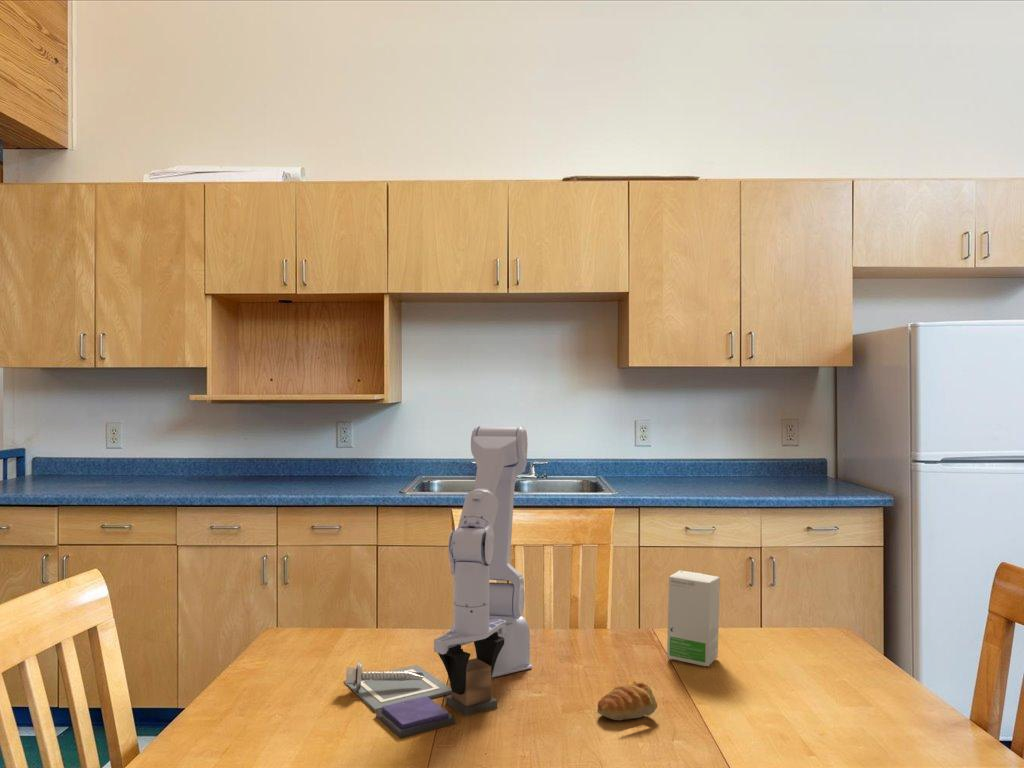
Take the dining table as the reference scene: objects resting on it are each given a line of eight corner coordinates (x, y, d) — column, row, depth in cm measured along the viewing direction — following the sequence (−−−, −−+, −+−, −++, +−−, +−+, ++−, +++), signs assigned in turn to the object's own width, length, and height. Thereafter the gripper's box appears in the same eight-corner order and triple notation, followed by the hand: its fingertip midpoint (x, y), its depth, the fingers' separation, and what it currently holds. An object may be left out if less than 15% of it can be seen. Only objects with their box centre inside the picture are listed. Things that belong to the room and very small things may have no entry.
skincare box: (666, 659, 144) (665, 576, 144) (678, 649, 150) (677, 569, 150) (710, 667, 140) (709, 582, 140) (720, 656, 145) (720, 574, 146)
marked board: (417, 667, 140) (417, 664, 140) (453, 693, 128) (453, 689, 128) (343, 683, 132) (343, 680, 132) (375, 712, 121) (375, 708, 121)
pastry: (615, 728, 114) (615, 702, 114) (586, 711, 120) (586, 687, 120) (660, 712, 119) (661, 688, 119) (631, 697, 125) (631, 674, 125)
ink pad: (428, 703, 124) (428, 693, 124) (454, 723, 116) (454, 713, 116) (376, 716, 119) (376, 706, 119) (400, 738, 112) (400, 727, 112)
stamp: (477, 695, 127) (477, 656, 127) (497, 707, 122) (497, 666, 122) (446, 703, 124) (446, 663, 124) (464, 716, 119) (464, 674, 119)
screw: (345, 696, 125) (347, 666, 125) (345, 685, 130) (347, 656, 130) (424, 696, 128) (426, 666, 128) (422, 685, 133) (424, 657, 133)
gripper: (485, 589, 131) (485, 668, 131) (420, 607, 121) (420, 693, 121) (515, 596, 127) (515, 679, 127) (451, 615, 116) (451, 706, 116)
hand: (471, 687), depth 123 cm, fingers closed on stamp, 5 cm apart
